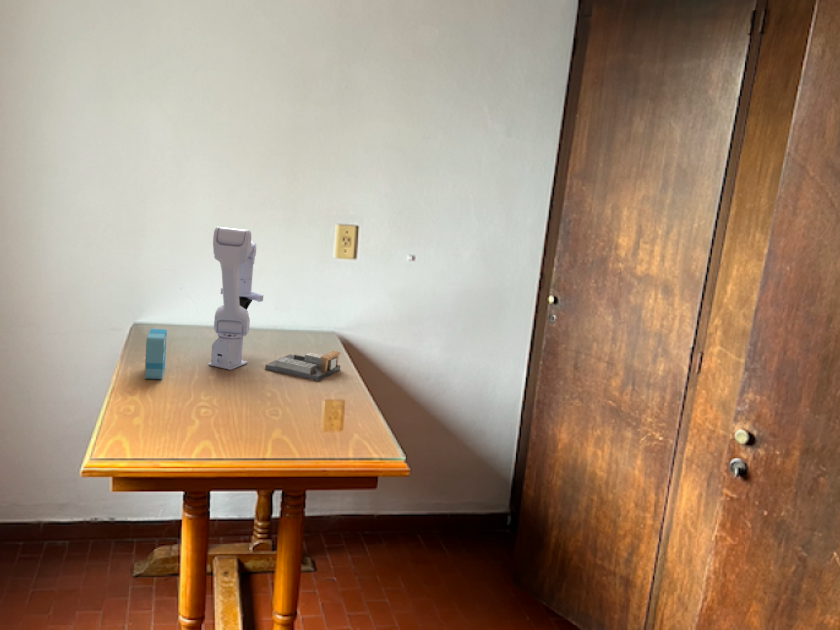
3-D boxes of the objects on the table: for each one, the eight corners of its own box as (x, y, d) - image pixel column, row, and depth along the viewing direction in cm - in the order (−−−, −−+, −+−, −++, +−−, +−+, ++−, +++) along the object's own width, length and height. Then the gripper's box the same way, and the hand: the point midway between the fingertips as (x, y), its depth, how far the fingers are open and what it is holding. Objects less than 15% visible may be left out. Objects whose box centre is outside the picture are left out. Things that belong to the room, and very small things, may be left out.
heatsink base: (318, 381, 231) (319, 362, 230) (265, 369, 237) (266, 350, 236) (340, 370, 245) (341, 352, 244) (289, 358, 251) (291, 341, 249)
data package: (161, 381, 216) (163, 339, 213) (144, 380, 214) (146, 338, 212) (164, 368, 227) (166, 328, 224) (148, 367, 226) (150, 327, 223)
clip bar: (330, 369, 239) (331, 360, 238) (304, 363, 241) (305, 354, 241) (335, 367, 242) (336, 357, 241) (309, 361, 245) (310, 352, 244)
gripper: (269, 280, 249) (266, 321, 252) (230, 272, 254) (227, 313, 257) (257, 283, 243) (254, 325, 246) (217, 275, 247) (215, 317, 250)
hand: (240, 319), depth 251 cm, fingers closed
